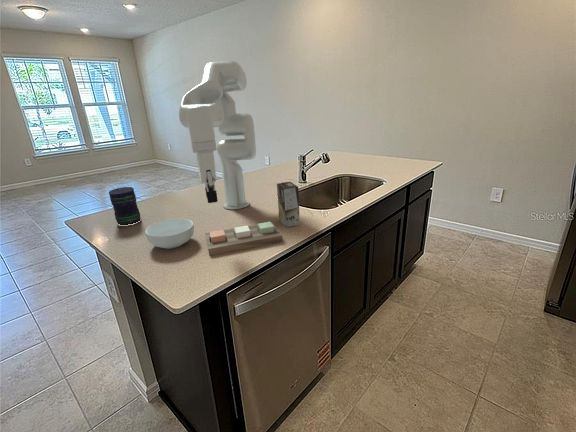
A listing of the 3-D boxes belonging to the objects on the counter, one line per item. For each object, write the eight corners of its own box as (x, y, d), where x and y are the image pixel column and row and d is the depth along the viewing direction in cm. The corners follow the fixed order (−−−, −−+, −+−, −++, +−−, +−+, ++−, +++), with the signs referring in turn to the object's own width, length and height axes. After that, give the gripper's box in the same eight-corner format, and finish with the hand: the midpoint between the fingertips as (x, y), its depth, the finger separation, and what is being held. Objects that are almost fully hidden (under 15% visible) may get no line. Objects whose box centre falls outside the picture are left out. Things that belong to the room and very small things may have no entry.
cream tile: (235, 235, 116) (234, 227, 115) (248, 232, 118) (247, 225, 117) (237, 240, 112) (236, 232, 111) (250, 238, 113) (250, 230, 112)
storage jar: (146, 220, 140) (138, 188, 134) (126, 228, 132) (117, 195, 126) (132, 216, 145) (124, 186, 139) (112, 224, 137) (103, 192, 131)
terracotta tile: (210, 239, 114) (209, 232, 113) (224, 236, 115) (223, 229, 114) (211, 245, 110) (210, 237, 109) (226, 242, 111) (225, 234, 110)
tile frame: (206, 238, 118) (205, 232, 117) (271, 227, 125) (271, 221, 124) (209, 255, 106) (208, 249, 105) (282, 241, 113) (281, 235, 112)
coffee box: (300, 224, 126) (299, 186, 120) (285, 227, 124) (283, 189, 118) (292, 217, 134) (290, 181, 128) (278, 219, 132) (275, 183, 126)
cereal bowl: (205, 241, 116) (202, 224, 114) (163, 259, 105) (159, 240, 102) (181, 230, 127) (178, 214, 124) (141, 246, 116) (136, 228, 113)
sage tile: (258, 230, 119) (257, 223, 118) (271, 228, 120) (270, 221, 119) (261, 236, 114) (260, 228, 113) (274, 233, 116) (274, 226, 115)
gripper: (191, 144, 106) (199, 194, 113) (193, 151, 91) (202, 209, 98) (213, 141, 108) (220, 191, 115) (218, 149, 93) (226, 206, 100)
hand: (212, 199), depth 107 cm, fingers open, 4 cm apart
